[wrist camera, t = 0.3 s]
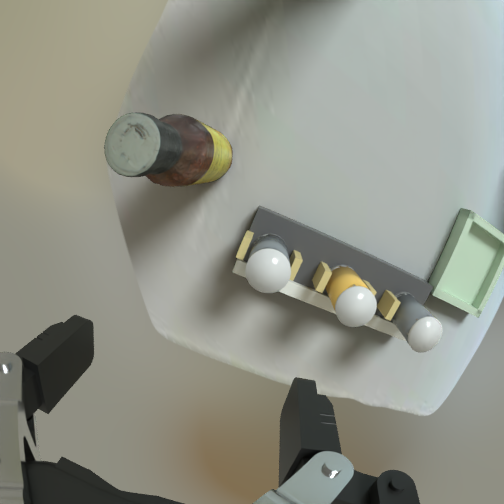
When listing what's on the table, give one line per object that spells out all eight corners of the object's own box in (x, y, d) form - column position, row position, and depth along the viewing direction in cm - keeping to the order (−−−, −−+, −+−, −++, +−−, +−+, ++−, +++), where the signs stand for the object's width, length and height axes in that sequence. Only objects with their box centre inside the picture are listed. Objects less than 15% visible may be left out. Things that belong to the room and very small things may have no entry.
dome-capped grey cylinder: (260, 227, 35) (255, 242, 28) (293, 241, 35) (298, 260, 28) (246, 260, 36) (238, 282, 29) (279, 273, 36) (279, 299, 29)
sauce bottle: (227, 124, 35) (177, 74, 16) (239, 175, 37) (201, 174, 17) (175, 140, 36) (84, 113, 17) (187, 189, 37) (103, 205, 18)
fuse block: (258, 204, 37) (255, 210, 31) (426, 281, 38) (446, 297, 32) (233, 265, 39) (225, 281, 33) (398, 332, 40) (413, 353, 34)
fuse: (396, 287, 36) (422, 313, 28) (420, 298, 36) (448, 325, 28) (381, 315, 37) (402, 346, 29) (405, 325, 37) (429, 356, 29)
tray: (461, 208, 35) (470, 210, 33) (504, 238, 35) (513, 242, 33) (424, 288, 38) (432, 295, 36) (470, 311, 38) (478, 317, 36)
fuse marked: (333, 259, 36) (348, 281, 28) (362, 272, 36) (383, 296, 28) (318, 289, 37) (328, 318, 29) (347, 301, 37) (363, 332, 29)
